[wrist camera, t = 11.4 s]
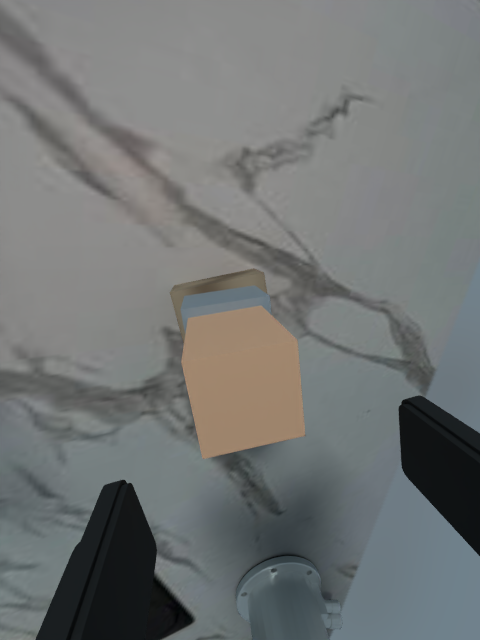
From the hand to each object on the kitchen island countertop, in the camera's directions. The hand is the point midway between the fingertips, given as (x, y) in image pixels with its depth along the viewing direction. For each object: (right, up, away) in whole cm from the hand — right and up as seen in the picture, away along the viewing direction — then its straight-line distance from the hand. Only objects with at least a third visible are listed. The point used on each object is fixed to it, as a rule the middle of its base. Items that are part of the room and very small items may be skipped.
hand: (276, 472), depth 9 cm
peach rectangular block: (-2, +3, +10) cm, 10 cm away
